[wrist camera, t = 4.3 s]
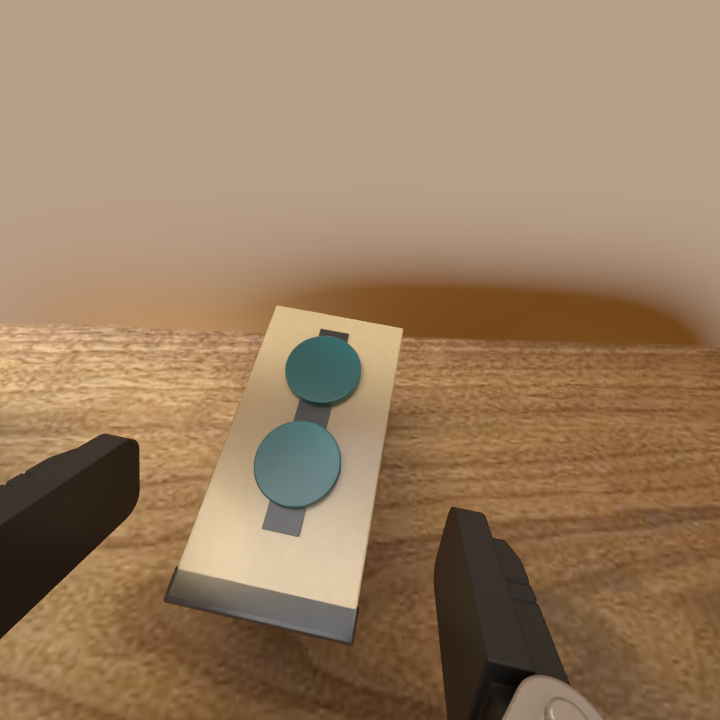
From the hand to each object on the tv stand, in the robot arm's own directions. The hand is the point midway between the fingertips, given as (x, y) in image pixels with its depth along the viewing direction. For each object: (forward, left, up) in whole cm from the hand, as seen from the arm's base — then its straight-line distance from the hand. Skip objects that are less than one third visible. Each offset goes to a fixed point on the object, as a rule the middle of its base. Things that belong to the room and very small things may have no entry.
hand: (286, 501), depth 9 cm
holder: (0, -2, -8) cm, 8 cm away
